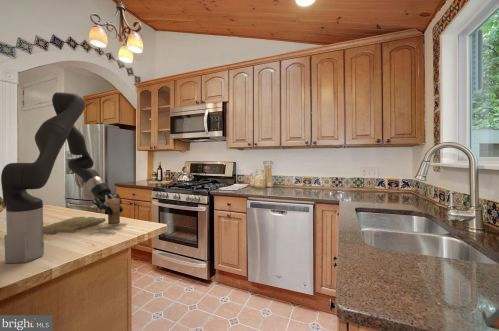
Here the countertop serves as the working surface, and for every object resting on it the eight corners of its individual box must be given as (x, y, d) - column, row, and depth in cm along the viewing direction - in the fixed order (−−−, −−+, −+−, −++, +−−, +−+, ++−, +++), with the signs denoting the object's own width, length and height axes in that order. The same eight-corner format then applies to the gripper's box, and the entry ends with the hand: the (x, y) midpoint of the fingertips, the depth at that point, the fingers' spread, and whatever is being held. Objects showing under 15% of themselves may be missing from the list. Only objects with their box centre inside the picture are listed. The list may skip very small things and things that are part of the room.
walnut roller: (117, 224, 113) (117, 200, 113) (106, 224, 113) (106, 200, 112) (121, 221, 118) (121, 198, 118) (110, 221, 118) (110, 198, 117)
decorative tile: (38, 234, 106) (38, 226, 105) (75, 221, 126) (75, 215, 125) (75, 236, 104) (75, 228, 104) (107, 223, 124) (107, 216, 123)
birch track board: (112, 237, 102) (112, 235, 102) (85, 238, 100) (85, 236, 100) (129, 224, 120) (129, 222, 120) (106, 225, 119) (106, 223, 119)
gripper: (88, 183, 110) (108, 211, 107) (114, 181, 124) (132, 205, 121) (80, 194, 112) (99, 221, 109) (106, 190, 125) (124, 214, 122)
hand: (116, 212), depth 115 cm, fingers closed on walnut roller, 5 cm apart
